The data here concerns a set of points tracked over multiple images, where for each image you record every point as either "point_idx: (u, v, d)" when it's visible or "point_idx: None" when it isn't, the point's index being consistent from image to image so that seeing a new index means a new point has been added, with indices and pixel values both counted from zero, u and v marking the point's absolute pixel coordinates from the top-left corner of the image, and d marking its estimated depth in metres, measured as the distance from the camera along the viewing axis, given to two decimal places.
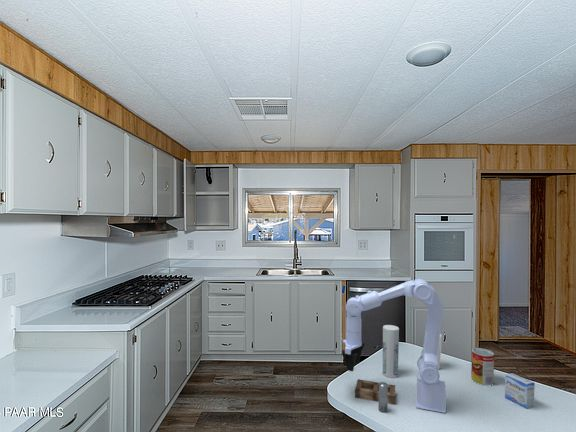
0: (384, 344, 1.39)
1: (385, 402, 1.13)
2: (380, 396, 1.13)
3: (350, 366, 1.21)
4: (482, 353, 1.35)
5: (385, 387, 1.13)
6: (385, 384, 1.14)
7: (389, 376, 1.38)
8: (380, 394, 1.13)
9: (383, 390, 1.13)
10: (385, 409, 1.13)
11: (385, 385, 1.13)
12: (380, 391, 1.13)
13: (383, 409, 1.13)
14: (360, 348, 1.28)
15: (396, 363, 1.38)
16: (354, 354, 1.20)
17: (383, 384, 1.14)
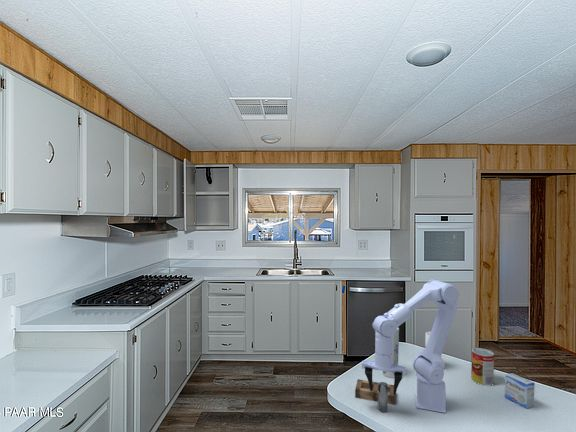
0: None
1: (385, 402, 1.13)
2: (380, 396, 1.13)
3: None
4: (482, 353, 1.35)
5: (385, 387, 1.13)
6: (385, 384, 1.14)
7: (389, 376, 1.38)
8: (380, 394, 1.13)
9: (383, 390, 1.13)
10: (385, 409, 1.13)
11: (385, 385, 1.13)
12: (380, 391, 1.13)
13: (383, 409, 1.13)
14: (394, 378, 1.12)
15: (396, 363, 1.38)
16: (367, 371, 1.14)
17: (383, 384, 1.14)
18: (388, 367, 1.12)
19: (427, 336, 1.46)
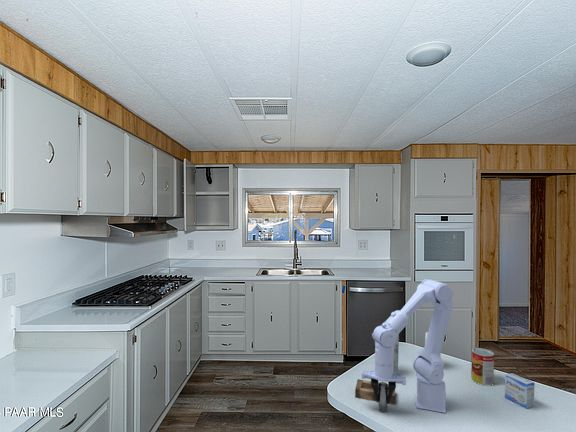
0: None
1: (385, 402, 1.13)
2: (380, 396, 1.13)
3: None
4: (482, 353, 1.35)
5: (385, 387, 1.13)
6: (385, 384, 1.14)
7: None
8: (380, 394, 1.13)
9: (383, 390, 1.13)
10: (385, 409, 1.13)
11: (385, 385, 1.13)
12: (380, 391, 1.13)
13: (383, 409, 1.13)
14: (388, 387, 1.12)
15: (396, 363, 1.38)
16: (373, 383, 1.13)
17: (383, 384, 1.14)
18: (388, 377, 1.12)
19: None
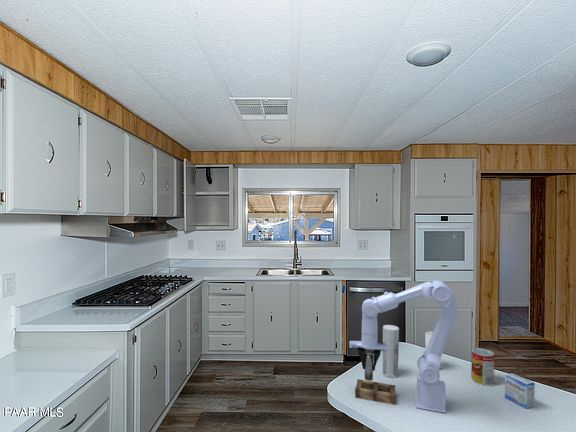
0: (384, 344, 1.39)
1: (371, 371, 1.22)
2: (366, 365, 1.22)
3: None
4: (482, 353, 1.35)
5: (371, 357, 1.22)
6: (371, 354, 1.23)
7: (389, 376, 1.38)
8: (366, 364, 1.22)
9: (369, 359, 1.22)
10: (371, 377, 1.22)
11: (371, 355, 1.22)
12: (366, 361, 1.22)
13: (369, 377, 1.22)
14: None
15: (396, 363, 1.38)
16: (359, 351, 1.23)
17: (369, 354, 1.23)
18: (373, 346, 1.21)
19: (427, 336, 1.46)
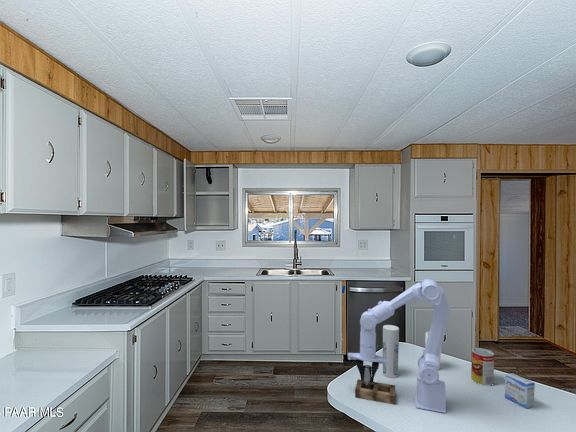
0: (384, 344, 1.39)
1: (369, 383, 1.23)
2: (365, 378, 1.23)
3: None
4: (482, 353, 1.35)
5: (369, 369, 1.23)
6: (369, 366, 1.24)
7: (389, 376, 1.38)
8: (365, 376, 1.23)
9: (367, 372, 1.23)
10: None
11: (369, 367, 1.23)
12: (365, 373, 1.23)
13: None
14: None
15: (396, 363, 1.38)
16: (358, 363, 1.24)
17: (367, 366, 1.24)
18: (371, 358, 1.22)
19: (427, 336, 1.46)
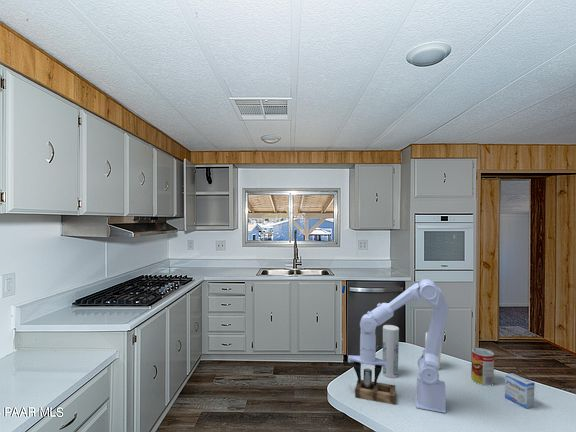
0: (384, 344, 1.39)
1: (369, 386, 1.23)
2: (365, 381, 1.23)
3: (358, 377, 1.26)
4: (482, 353, 1.35)
5: (370, 373, 1.23)
6: (369, 370, 1.24)
7: (389, 376, 1.38)
8: (365, 379, 1.23)
9: (368, 375, 1.23)
10: None
11: (370, 371, 1.24)
12: (365, 377, 1.23)
13: None
14: None
15: (396, 363, 1.38)
16: (355, 365, 1.24)
17: (368, 370, 1.25)
18: (371, 361, 1.22)
19: None
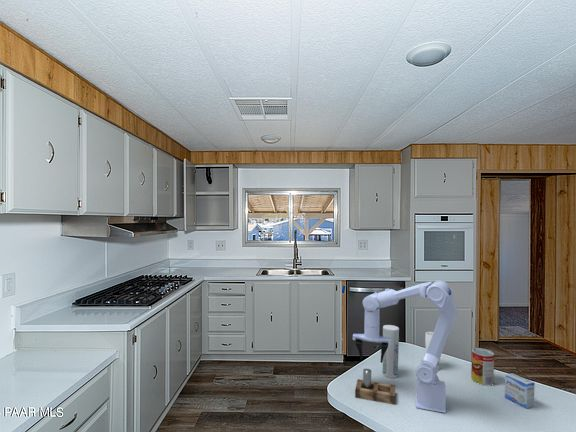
0: None
1: (369, 386, 1.23)
2: (365, 381, 1.23)
3: (360, 353, 1.31)
4: (482, 353, 1.35)
5: (369, 373, 1.23)
6: (369, 370, 1.24)
7: (389, 376, 1.38)
8: (365, 380, 1.23)
9: (367, 375, 1.23)
10: None
11: (369, 371, 1.24)
12: (365, 377, 1.23)
13: None
14: (381, 347, 1.28)
15: (396, 363, 1.38)
16: (357, 342, 1.30)
17: (367, 370, 1.25)
18: (375, 338, 1.27)
19: (427, 336, 1.46)
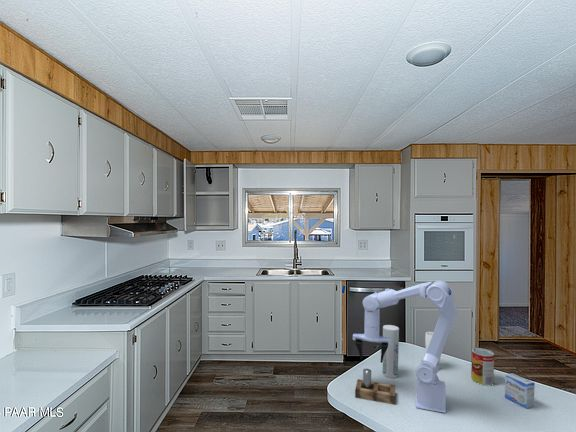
0: None
1: (369, 387, 1.23)
2: (365, 381, 1.23)
3: (360, 353, 1.31)
4: (482, 353, 1.35)
5: (369, 373, 1.23)
6: (369, 370, 1.24)
7: (389, 376, 1.38)
8: (365, 380, 1.23)
9: (367, 376, 1.23)
10: None
11: (369, 371, 1.24)
12: (365, 377, 1.23)
13: None
14: (381, 347, 1.28)
15: (396, 363, 1.38)
16: (357, 342, 1.30)
17: (367, 370, 1.24)
18: (375, 338, 1.27)
19: (427, 336, 1.46)
